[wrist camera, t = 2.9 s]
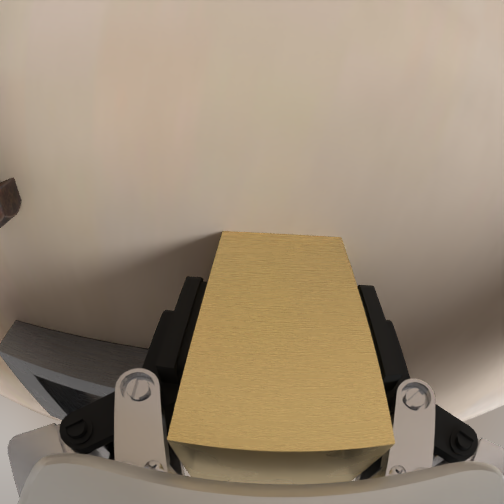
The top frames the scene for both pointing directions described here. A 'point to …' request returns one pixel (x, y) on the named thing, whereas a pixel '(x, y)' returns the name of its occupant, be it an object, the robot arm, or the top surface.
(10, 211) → the bolt
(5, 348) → the grey peg board
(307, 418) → the gold block
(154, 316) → the top surface
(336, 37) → the top surface
